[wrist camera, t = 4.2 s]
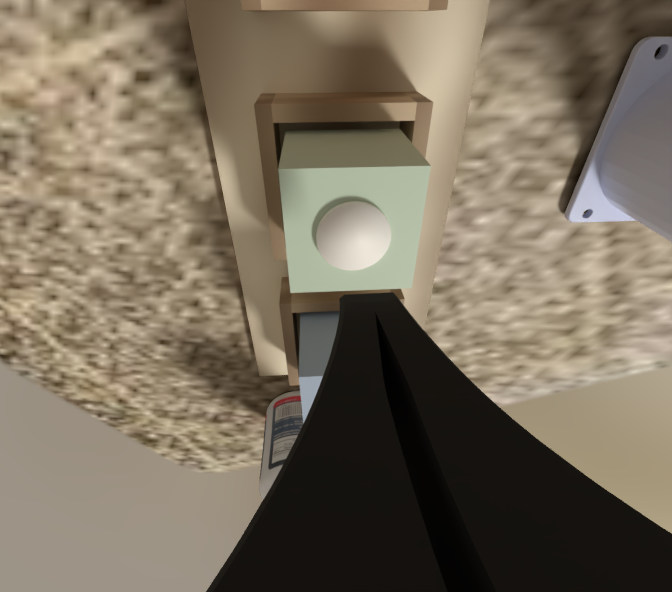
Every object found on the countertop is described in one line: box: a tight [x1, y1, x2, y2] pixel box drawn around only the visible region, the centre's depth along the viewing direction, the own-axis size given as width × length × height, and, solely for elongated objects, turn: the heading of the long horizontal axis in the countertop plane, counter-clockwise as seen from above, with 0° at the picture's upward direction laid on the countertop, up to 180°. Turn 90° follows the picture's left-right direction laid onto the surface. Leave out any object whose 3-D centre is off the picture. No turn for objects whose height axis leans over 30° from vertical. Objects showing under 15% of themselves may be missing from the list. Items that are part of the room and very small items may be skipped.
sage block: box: [278, 129, 431, 293], centre depth 13 cm, size 4×4×5 cm
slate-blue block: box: [299, 311, 340, 424], centre depth 19 cm, size 4×4×5 cm
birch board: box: [184, 0, 490, 386], centre depth 16 cm, size 11×28×3 cm, turn 0°
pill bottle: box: [259, 391, 303, 500], centre depth 25 cm, size 5×5×9 cm
